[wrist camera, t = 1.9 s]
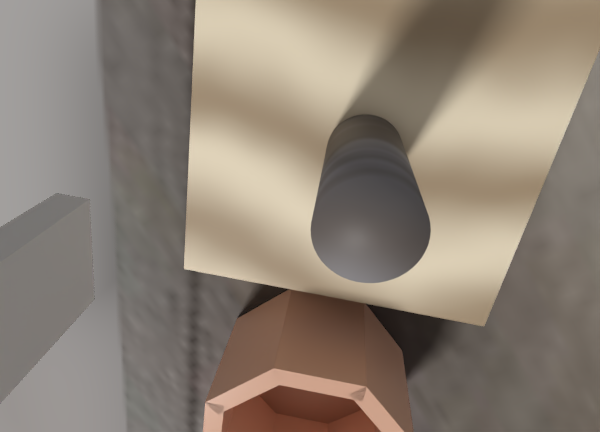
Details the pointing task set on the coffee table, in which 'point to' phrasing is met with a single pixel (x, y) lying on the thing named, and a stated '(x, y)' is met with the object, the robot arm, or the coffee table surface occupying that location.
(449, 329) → the coffee table surface
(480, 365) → the coffee table surface
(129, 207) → the coffee table surface
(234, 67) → the lid
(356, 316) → the bowl
